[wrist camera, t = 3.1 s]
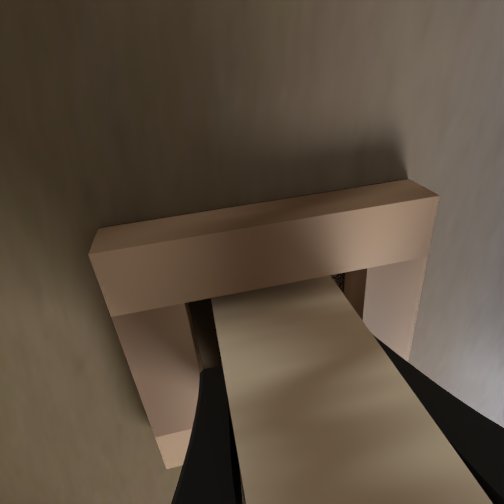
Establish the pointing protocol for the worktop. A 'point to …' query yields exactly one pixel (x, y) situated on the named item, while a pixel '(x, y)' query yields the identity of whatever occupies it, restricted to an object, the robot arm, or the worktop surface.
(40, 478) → the worktop surface
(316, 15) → the worktop surface
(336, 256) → the pocket block
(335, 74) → the worktop surface
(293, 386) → the maple part
